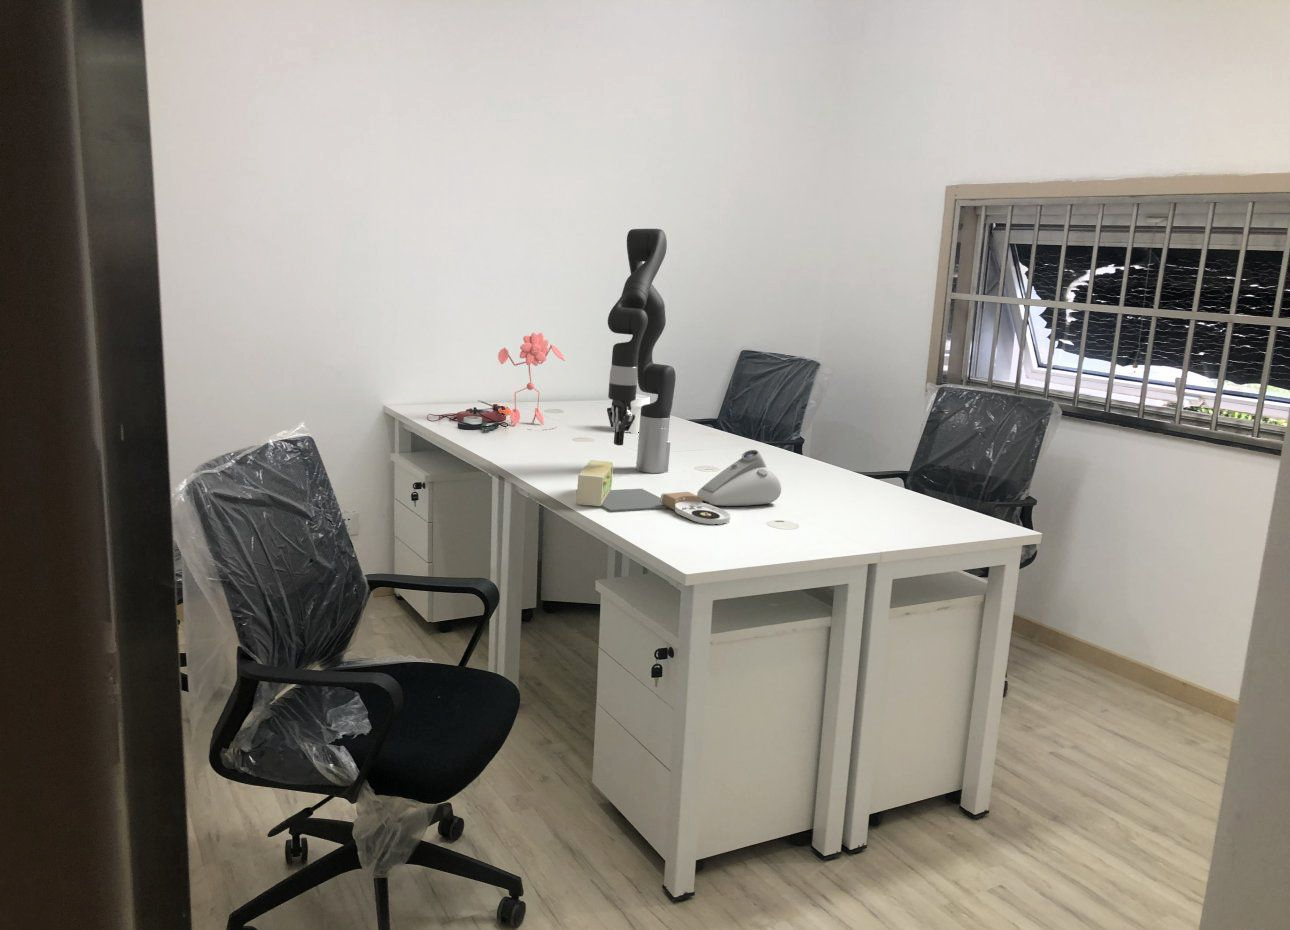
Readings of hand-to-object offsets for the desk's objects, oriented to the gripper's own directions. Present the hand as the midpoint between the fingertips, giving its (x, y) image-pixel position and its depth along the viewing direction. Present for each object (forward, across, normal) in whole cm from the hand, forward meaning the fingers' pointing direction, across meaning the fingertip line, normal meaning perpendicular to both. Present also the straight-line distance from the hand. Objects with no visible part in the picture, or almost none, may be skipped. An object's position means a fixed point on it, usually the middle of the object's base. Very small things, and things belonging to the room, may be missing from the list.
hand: (618, 444), depth 274 cm
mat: (+14, -7, 0) cm, 16 cm away
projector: (+14, -14, -32) cm, 37 cm away
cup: (+14, +90, -52) cm, 105 cm away
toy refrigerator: (+10, +6, +1) cm, 11 cm away
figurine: (+14, +102, -16) cm, 104 cm away
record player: (+14, -24, -12) cm, 30 cm away
